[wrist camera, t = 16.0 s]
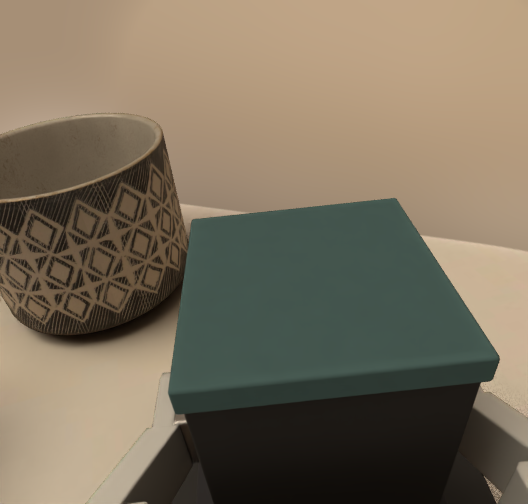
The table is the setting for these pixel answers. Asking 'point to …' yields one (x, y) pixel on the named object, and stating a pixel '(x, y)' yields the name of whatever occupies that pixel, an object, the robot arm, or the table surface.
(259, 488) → the pad block
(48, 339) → the table surface
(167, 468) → the robot arm
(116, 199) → the planter
